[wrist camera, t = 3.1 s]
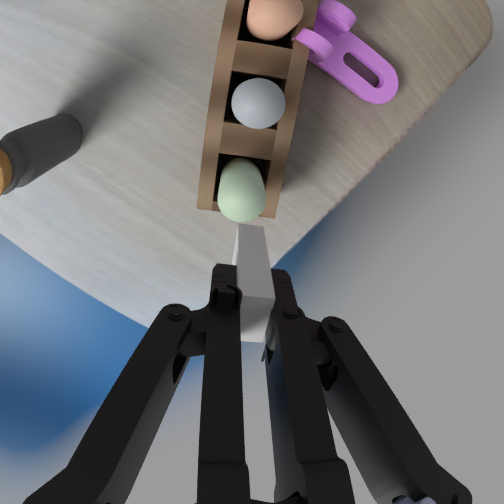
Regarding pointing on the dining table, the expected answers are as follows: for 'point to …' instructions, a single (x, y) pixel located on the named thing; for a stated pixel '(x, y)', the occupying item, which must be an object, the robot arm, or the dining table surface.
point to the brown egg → (273, 18)
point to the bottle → (36, 150)
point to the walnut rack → (230, 128)
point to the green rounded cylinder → (241, 190)
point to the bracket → (343, 41)
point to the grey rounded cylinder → (258, 103)
